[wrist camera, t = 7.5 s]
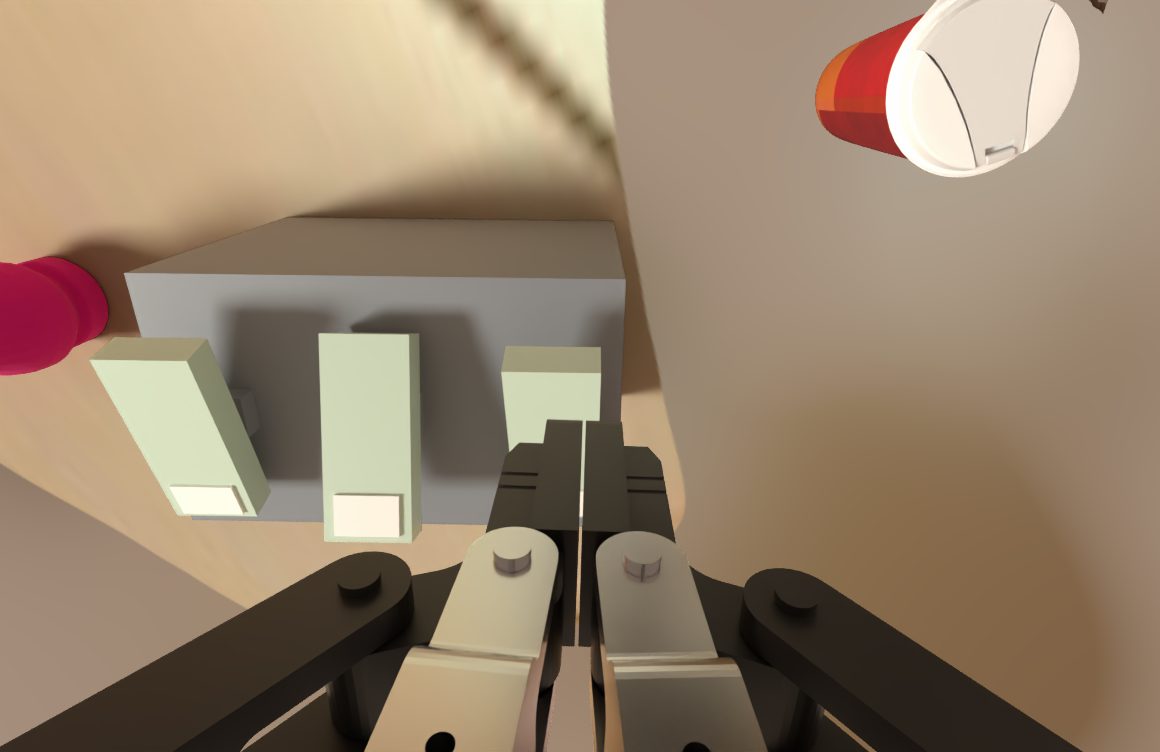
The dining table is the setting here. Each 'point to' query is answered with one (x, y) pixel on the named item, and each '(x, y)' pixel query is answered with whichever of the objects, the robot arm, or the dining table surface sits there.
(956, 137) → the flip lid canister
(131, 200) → the dining table surface
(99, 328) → the pepper mill
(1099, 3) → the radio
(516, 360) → the rocker
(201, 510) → the block
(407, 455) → the block
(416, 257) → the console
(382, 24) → the dining table surface
